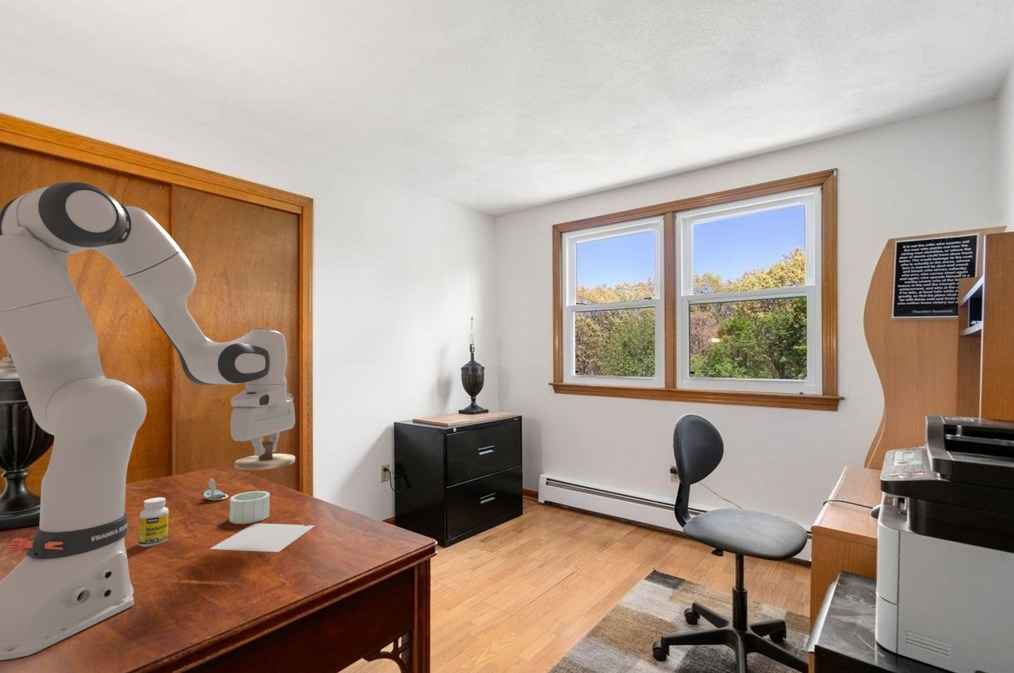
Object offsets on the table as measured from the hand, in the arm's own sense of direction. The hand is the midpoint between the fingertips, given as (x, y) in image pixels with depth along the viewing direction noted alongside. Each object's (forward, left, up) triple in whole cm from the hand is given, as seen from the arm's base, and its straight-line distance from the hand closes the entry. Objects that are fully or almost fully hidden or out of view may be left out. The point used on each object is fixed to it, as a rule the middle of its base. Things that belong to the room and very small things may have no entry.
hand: (265, 453), depth 114 cm
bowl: (+10, +10, -19) cm, 24 cm away
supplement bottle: (-7, +22, -20) cm, 30 cm away
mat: (-2, -2, -19) cm, 20 cm away
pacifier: (+26, +31, -20) cm, 45 cm away
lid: (0, 0, -2) cm, 2 cm away
